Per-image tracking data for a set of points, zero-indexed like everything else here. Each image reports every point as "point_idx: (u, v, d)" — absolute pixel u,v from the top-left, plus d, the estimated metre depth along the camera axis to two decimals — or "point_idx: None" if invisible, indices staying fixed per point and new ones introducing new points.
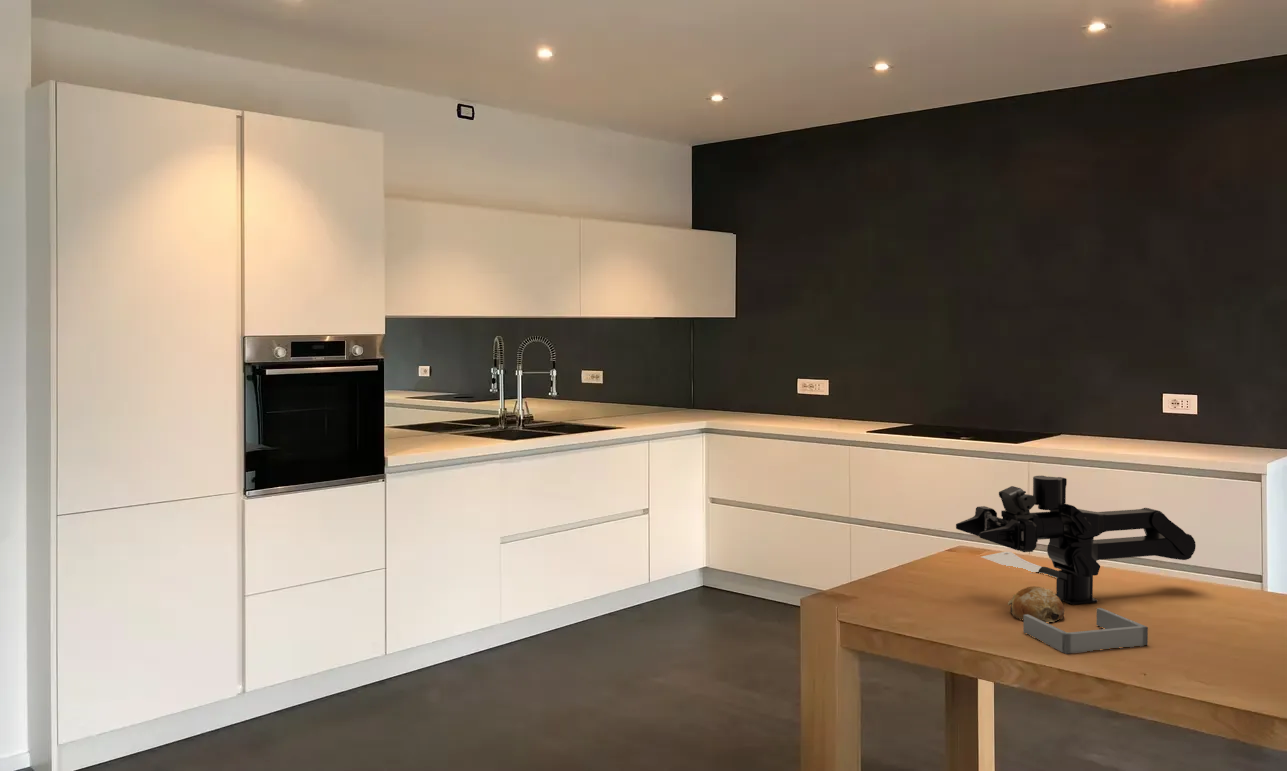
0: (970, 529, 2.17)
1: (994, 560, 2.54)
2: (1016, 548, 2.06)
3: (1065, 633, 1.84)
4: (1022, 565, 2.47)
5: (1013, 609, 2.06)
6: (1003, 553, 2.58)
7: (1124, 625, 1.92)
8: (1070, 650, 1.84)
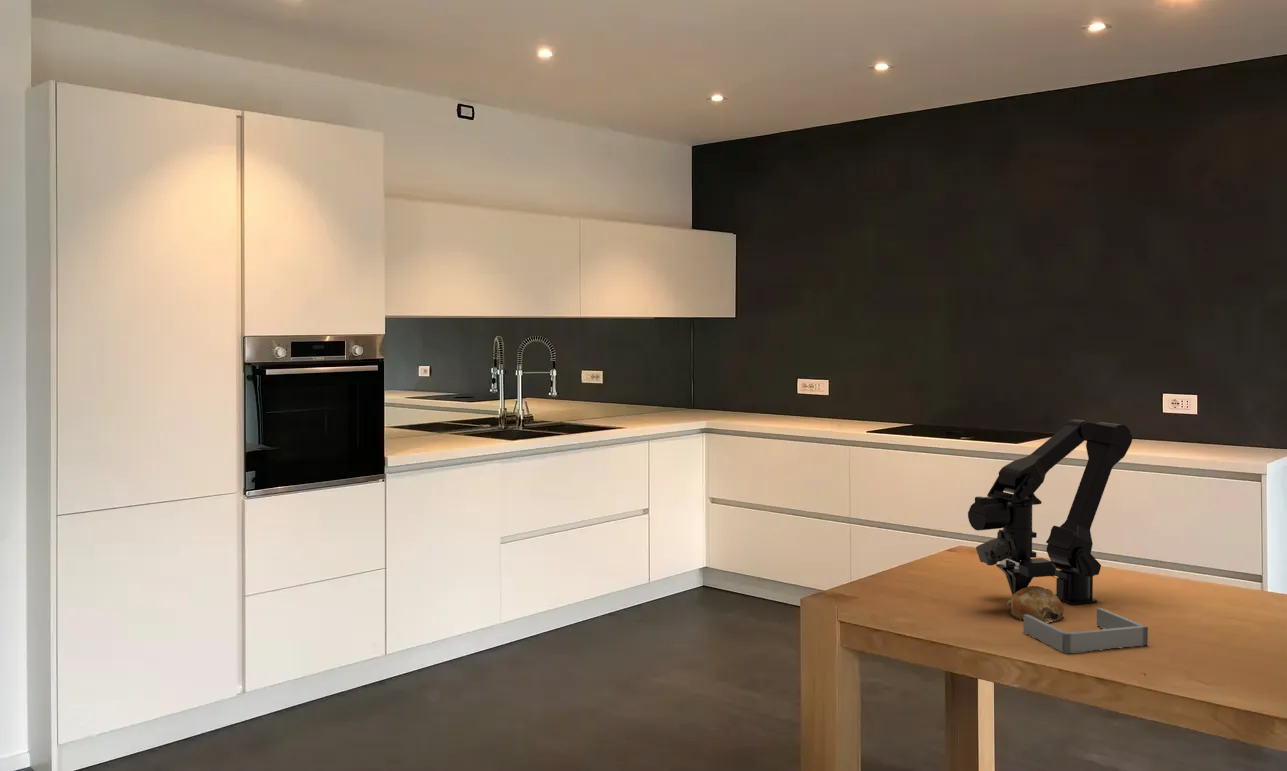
0: None
1: None
2: None
3: (1065, 633, 1.84)
4: None
5: (1012, 609, 2.06)
6: None
7: (1124, 625, 1.92)
8: (1070, 650, 1.84)
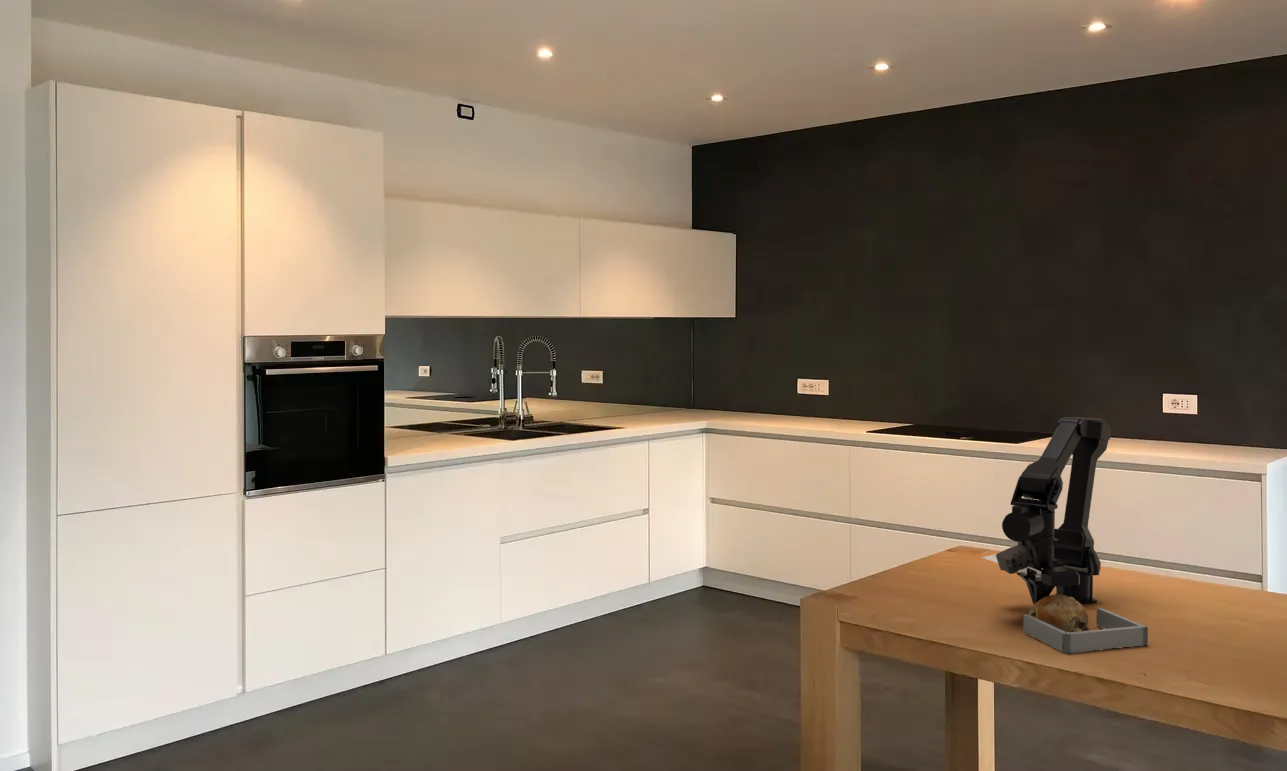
0: None
1: (996, 560, 2.54)
2: None
3: (1065, 633, 1.84)
4: None
5: None
6: None
7: (1124, 625, 1.92)
8: (1070, 650, 1.84)
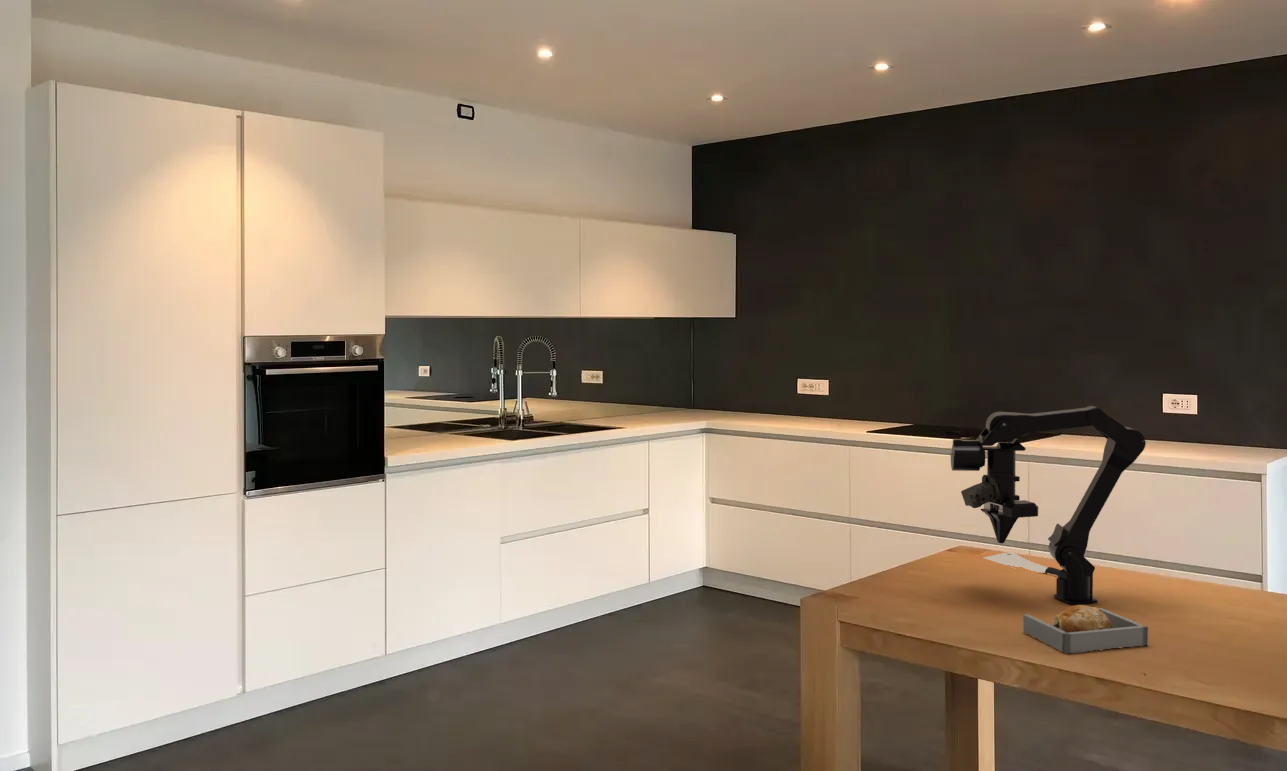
0: None
1: (998, 561, 2.53)
2: None
3: (1065, 633, 1.84)
4: (1027, 566, 2.47)
5: None
6: (1006, 554, 2.58)
7: (1124, 625, 1.92)
8: (1070, 650, 1.84)
